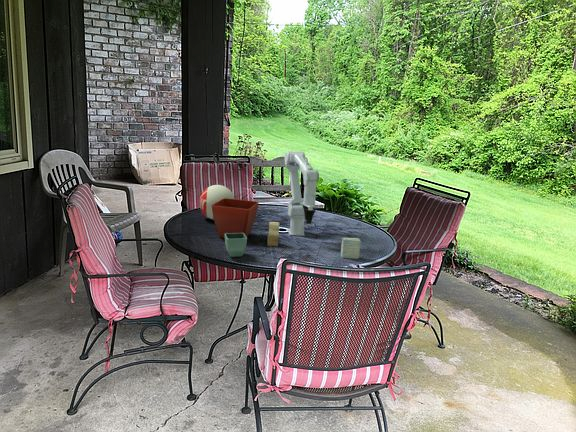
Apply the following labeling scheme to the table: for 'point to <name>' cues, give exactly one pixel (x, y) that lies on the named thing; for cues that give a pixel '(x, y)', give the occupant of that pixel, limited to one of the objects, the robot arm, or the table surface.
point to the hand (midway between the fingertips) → (308, 221)
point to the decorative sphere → (213, 198)
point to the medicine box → (350, 248)
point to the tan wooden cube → (272, 240)
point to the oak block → (273, 228)
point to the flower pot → (235, 243)
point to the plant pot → (234, 216)
